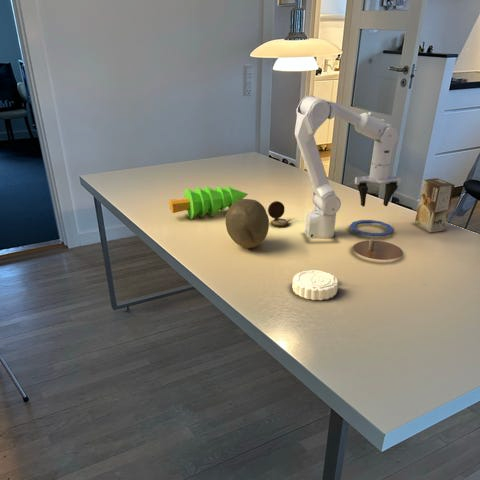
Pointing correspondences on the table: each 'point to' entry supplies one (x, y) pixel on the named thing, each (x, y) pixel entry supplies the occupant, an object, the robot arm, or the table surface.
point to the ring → (368, 223)
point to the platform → (377, 250)
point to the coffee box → (434, 204)
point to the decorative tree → (206, 201)
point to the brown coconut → (247, 223)
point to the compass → (277, 214)
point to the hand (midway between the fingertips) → (373, 205)
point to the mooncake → (315, 285)
